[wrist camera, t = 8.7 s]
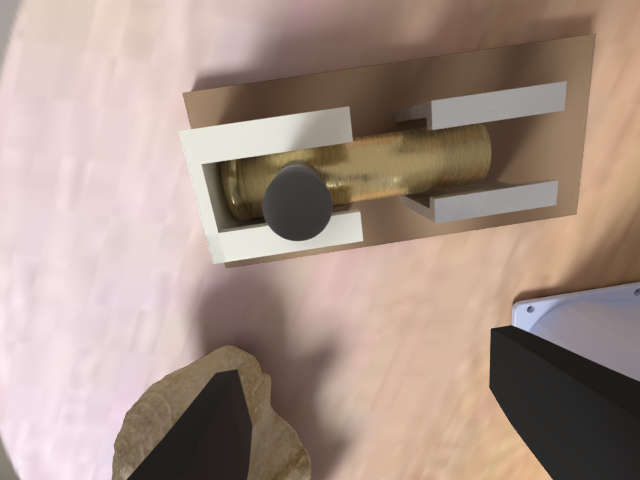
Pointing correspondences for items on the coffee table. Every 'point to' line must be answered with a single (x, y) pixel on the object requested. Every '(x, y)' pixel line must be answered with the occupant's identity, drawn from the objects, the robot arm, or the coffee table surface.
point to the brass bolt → (351, 175)
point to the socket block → (254, 140)
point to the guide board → (443, 112)
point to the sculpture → (180, 391)
